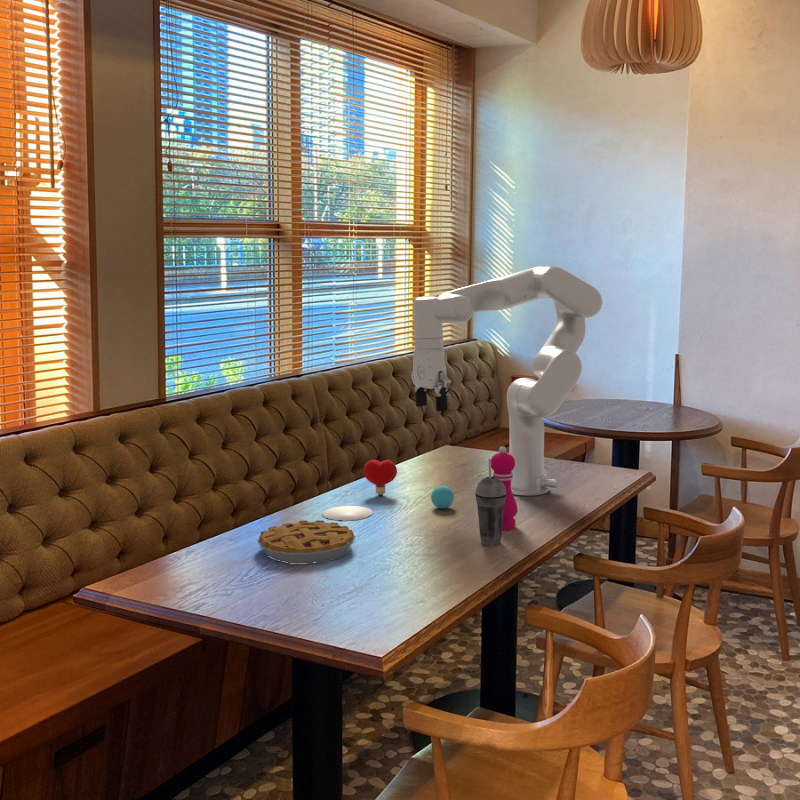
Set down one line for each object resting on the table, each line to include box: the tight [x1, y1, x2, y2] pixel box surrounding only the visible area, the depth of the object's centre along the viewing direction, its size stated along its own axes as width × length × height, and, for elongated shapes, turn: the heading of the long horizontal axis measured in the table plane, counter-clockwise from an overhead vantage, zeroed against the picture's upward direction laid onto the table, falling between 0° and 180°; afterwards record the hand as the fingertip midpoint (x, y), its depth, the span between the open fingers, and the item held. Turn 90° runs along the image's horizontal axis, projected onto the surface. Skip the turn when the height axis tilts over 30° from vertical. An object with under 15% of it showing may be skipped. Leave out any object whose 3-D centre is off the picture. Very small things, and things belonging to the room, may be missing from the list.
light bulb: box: [363, 459, 398, 497], centre depth 256 cm, size 9×7×10 cm
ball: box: [430, 485, 455, 510], centre depth 243 cm, size 6×6×6 cm
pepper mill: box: [490, 446, 519, 531], centre depth 225 cm, size 7×7×20 cm
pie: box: [257, 519, 356, 564], centre depth 210 cm, size 22×22×5 cm
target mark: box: [321, 505, 374, 522], centre depth 240 cm, size 13×13×1 cm
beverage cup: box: [474, 458, 507, 547], centre depth 212 cm, size 7×7×20 cm
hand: (431, 408), depth 247 cm, fingers open, 9 cm apart
